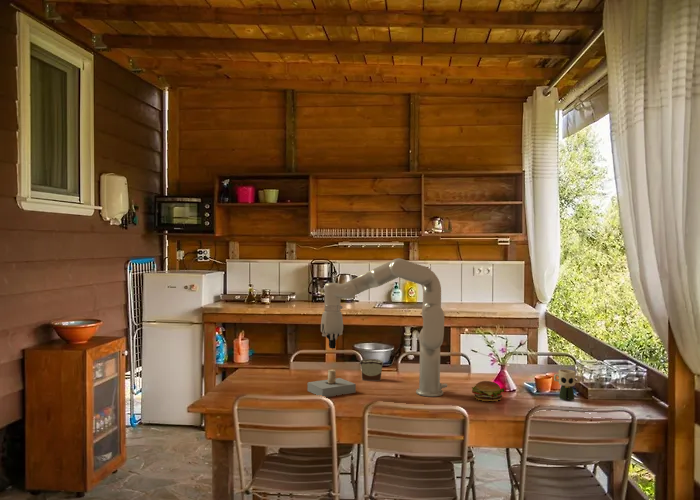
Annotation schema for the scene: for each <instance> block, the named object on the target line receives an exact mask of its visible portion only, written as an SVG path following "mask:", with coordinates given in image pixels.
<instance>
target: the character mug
mask: <svg viewBox="0 0 700 500" xmlns="http://www.w3.org/2000/svg"><path fill="white" fill-rule="evenodd" d="M557 377H558V378H557ZM576 378H577V380H576ZM553 380H554V382H558V384H559V385H560V389H559V396H558V397H559V399H561V400H563V399H564V401H566V400H568V401H573V399H574V400H575V393H574V388H573V387H574V386H575V385H576V384H580V383H581V376H580V375H576V371H575V370H572V369H566V368H565V369H558V373H554V375H553Z"/></svg>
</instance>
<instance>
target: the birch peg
mask: <svg viewBox="0 0 700 500" xmlns="http://www.w3.org/2000/svg"><path fill="white" fill-rule="evenodd" d="M336 372H337V371H336V369H328V370H327V380H328V384H329V385H333V384H336V378H337V377H336V375H337V374H336Z"/></svg>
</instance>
